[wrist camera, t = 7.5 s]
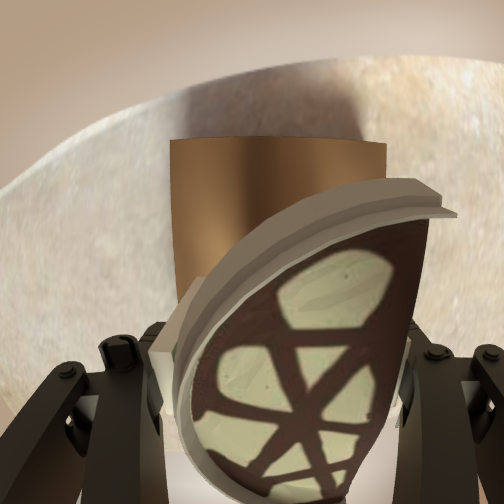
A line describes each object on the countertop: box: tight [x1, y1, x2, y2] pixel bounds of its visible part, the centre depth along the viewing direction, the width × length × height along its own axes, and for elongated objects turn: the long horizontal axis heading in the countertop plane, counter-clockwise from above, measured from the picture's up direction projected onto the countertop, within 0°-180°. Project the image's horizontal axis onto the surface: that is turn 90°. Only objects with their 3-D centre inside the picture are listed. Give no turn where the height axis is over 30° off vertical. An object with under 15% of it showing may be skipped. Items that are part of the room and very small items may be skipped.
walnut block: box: [170, 136, 387, 304], centre depth 21 cm, size 13×16×5 cm
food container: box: [172, 178, 457, 504], centre depth 11 cm, size 12×6×10 cm, turn 179°
